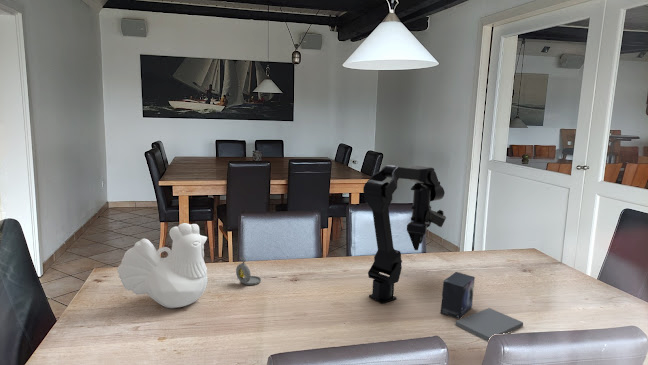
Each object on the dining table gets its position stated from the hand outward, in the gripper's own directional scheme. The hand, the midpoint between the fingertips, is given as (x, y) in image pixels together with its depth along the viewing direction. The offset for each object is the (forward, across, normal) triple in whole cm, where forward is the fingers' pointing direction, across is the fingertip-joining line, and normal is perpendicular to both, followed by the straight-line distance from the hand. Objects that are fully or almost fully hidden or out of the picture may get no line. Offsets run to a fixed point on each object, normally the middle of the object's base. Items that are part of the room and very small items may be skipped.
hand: (418, 246), depth 152 cm
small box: (+14, -17, -15) cm, 27 cm away
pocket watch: (+14, -23, +54) cm, 60 cm away
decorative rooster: (+15, -47, +69) cm, 85 cm away
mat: (+14, -24, -24) cm, 37 cm away
